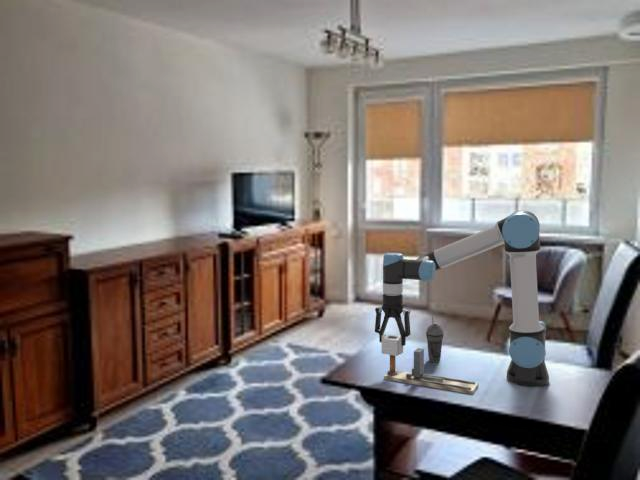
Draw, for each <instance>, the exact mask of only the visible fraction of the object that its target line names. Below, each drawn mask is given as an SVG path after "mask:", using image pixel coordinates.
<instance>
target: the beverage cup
mask: <svg viewBox="0 0 640 480" xmlns="http://www.w3.org/2000/svg"><path fill="white" fill-rule="evenodd" d="M430 316H431V323H432V324H430V325H429V326H428V327H427V328H426V332H425V334H426V342H427V353H428V361H429V362H430V363H434V364H435V363H439V362H441V357H442V346H443V339H444V335H445V334H444V330H443V327H442V326H441V325H439V324H436V323H434V314H433V313H431V315H430Z"/></svg>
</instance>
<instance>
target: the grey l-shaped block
mask: <svg viewBox="0 0 640 480" xmlns="http://www.w3.org/2000/svg"><path fill="white" fill-rule="evenodd" d="M424 365H425V348H420V347H417V348H416V349H415V350H414V351H413V368H414V378H416V379H421V378H425V379H431V380H437V381H443V378H437V377H431V376H425V375H424V374H425V371H424V370H425V366H424Z"/></svg>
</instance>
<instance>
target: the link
mask: <svg viewBox="0 0 640 480" xmlns="http://www.w3.org/2000/svg"><path fill="white" fill-rule="evenodd" d="M399 337H401V335H396V334H390V333H386V336H384V337H383V338H382V343H381V352H380V353H381V355H388V356H390V355H394V356H395V357H398V356H399V355H400V354H399Z"/></svg>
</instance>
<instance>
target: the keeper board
mask: <svg viewBox="0 0 640 480" xmlns="http://www.w3.org/2000/svg"><path fill="white" fill-rule="evenodd" d="M424 375H425V376H431V377H437V378H443V381H437V380H431V379H425V378H421V379H416V378H414V367H412V369H411V372H409V371H403V370H397V369H396V356H394V355H389V370H388V371H387V372H386V374H385V375H384V376H383V379H384V380H388V381H393V382H394V381H395V382H399V383H404V384H411V385H416V386H421V387H422V386H423V387H430V388H434V389H435V388H436V389H441V390H446V391H447V390H448V391H451V392H452V391H453V392H457V393H464V394H469V395H470V394H471V395H474V393H475V392H476V391H477V389H478V388H479V382H478V383H477V382H475V381H469V380H465V379H458V378H452V377H451V378H450V377H446V376H445V377H444V376H440V375H439V376H438V375H433V374H427V373H424Z"/></svg>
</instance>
